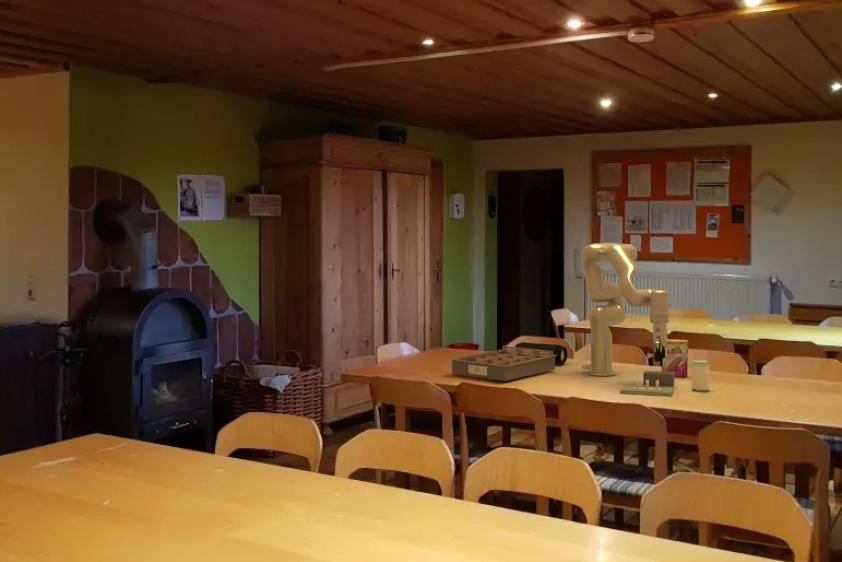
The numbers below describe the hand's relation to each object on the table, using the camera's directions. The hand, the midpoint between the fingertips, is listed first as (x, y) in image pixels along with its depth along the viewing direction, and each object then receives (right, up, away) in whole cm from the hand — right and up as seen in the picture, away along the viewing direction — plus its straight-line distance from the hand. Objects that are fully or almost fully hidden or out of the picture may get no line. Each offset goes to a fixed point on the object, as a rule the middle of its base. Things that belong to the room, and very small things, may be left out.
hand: (660, 359), depth 361 cm
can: (+15, -12, -8) cm, 20 cm away
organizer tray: (-62, -10, +37) cm, 73 cm away
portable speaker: (-41, -8, +66) cm, 78 cm away
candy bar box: (+13, -10, +24) cm, 29 cm away
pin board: (-8, -12, -10) cm, 18 cm away
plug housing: (0, -12, +1) cm, 12 cm away
